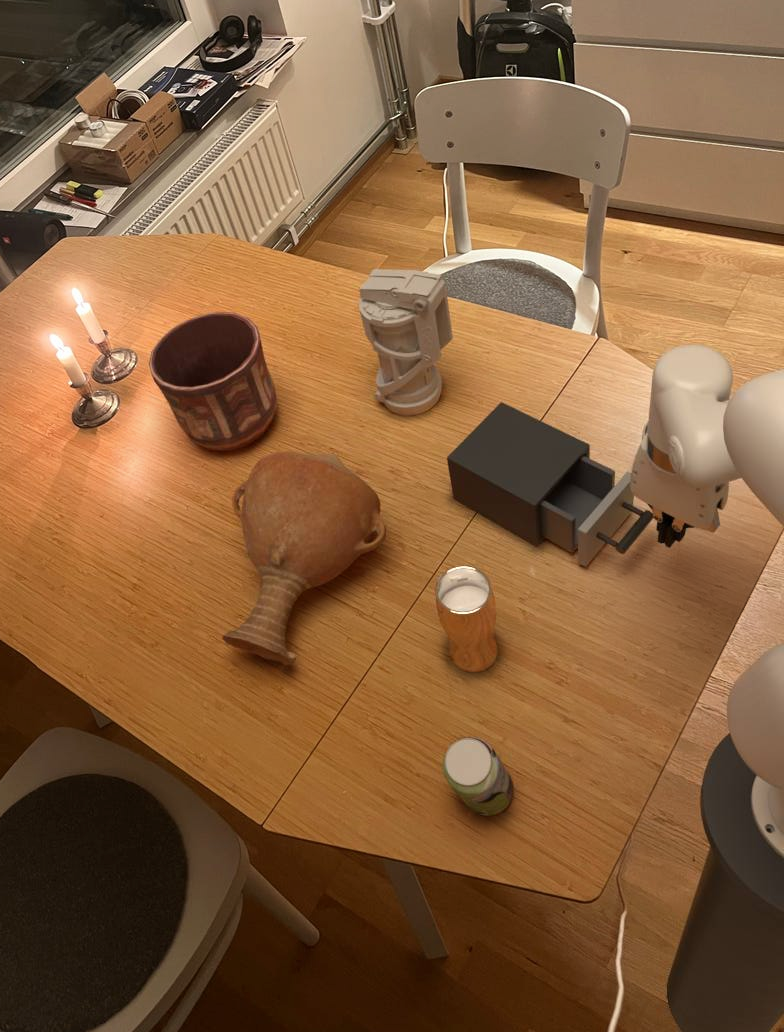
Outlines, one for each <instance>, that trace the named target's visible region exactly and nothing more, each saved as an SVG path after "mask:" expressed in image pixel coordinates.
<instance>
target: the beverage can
mask: <svg viewBox="0 0 784 1032" xmlns="http://www.w3.org/2000/svg"><path fill="white" fill-rule="evenodd" d="M442 770H443V774H444V777H445V780H446V781H447V783H448V784H449V785H450V786H451V788H452V789H453V790H454V792H455V793H456V794H457V795H458V797H459V798H460V799H461V800H462V801H463V803H464V804H465V805H466V806H467V808H469V809H470V810H471V812H474V813H475V814H478V815H481V816H489V817H490V816H495V815H497V814H500V813H501V812H503V811H504V810H505V809H507V807H508V806H509V804H510V803H511V801H512V798H513V794H514V784H513V780H512V776H511V775H510V773H509V772H508V770H507V768H506V767H505V766H504V764H503V762H502V760H501V759H500V757H499V756H498V753H497V752H496V751H495V749H494V748H493V746H492V745H491V744H489V742H487V741H486V740H484V739H482V738H479V737H475V736H465V737H462V738H459V739H457V740H455V741H454V742H453V743H451V745H449V747H448V748H447V750H446V751H445V753H444V756H443V761H442Z"/></svg>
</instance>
